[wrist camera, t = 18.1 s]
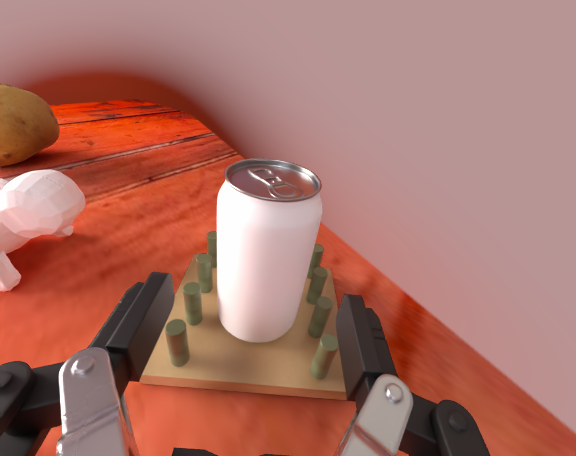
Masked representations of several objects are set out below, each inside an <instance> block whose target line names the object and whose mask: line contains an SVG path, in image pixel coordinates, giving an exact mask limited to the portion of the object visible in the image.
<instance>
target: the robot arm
mask: <svg viewBox="0 0 576 456" xmlns="http://www.w3.org/2000/svg"><path fill="white" fill-rule="evenodd" d="M174 299H175V295H174V288H173V281H172V275H171V274H169V273H160V272H152V273H151V274H150V276H149V277H148V279H147V280H146V282H145V283H141V282H138V283H136V284H135V285H134V286H132V287H131V288H130V289H128V290H127V291H126V293H125V294H124V296H123V297H122V299H121V300H120V303H118V305H117V306H116V308H115V309H114V312H112V313H111V315H110V316H109V318H108V319H107V321H106V322H105V324H104V325H103V327H102V328H101V329H100V331H99V332H98V334H97V335H96V337H95V338H94V340H93V341H92V343H91V344H90V345H89V346H88V347H87V349H84V350H81V351H79V352H77V353H76V354H74V355H73V356H71V357H70V358H69V359H68V360H67V361H65V362H62V363H58V364H53V365H48V366H43V367H38V368H33V369H31V368H30V366H29V365H28V364H27V363H25V362H21V361H14V362H9V363H5V364H3V365H0V456H35V455H36V453H37V451H38V450H39V448H40V446H41V445H42V443H43V441H44V439H45V438H46V436H47V434H48V432H49V431H50V429H51V428H53V427H56V426H60V425H62V437H61V438H60V439H59V440H58V443H57V456H140V455H139V451H138V448H137V445H136V442H135V438H134V434H133V429H132V425H131V421H130V416H129V412H128V408H127V403H126V399H125V394H124V391H125V389H126V386H127V384H128V382H129V381H136V382H139V380H140V378H141V376H142V374H143V372H144V369H145V367H146V365H147V363H148V361H149V359H150V356H151V354H152V352H153V350H154V348H155V346H156V343H157V341H158V339H159V337H160V335H161V333H162V330H163V328H164V326H165V324H166V322H167V320H168V317H169V315H170V313H171V311H172V308H173V305H174ZM336 332H337V339H338V345H339V352H340V358H341V365H342V371H343V378H344V384H345V391H346V397H347V400H348V401H355V402H356V407H357V411H356V412H355V414H354V416H353V418H352V420H351V422H350V424H349V426H348V428H347V430H346V432H345V434H344V436H343V438H342V440H341V442H340V444H339V446H338V448H337V450H336V452H335V454H334V455H333V456H396V454H397V451H398V450H400V451H403V452H405V453H407V454H409V456H490V453H489V451H488V449H487V447H486V444H485V442H484V440H483V438H482V435H481V433H480V431H479V429H478V426H477V424H476V422H475V420H474V419H473V417H472V416H471V414H470V413H469V412H468V411H467V410H466V409H465V408H464V407H463V406H461V405H460V404H458V403H456V402H454V401H451V400H442V401H441V402H439V403H438V404H436V403H433V402H431V401H429V400H426V399H424V398H422V397H420V396H417V395H415V394H414V393H412V392H411V391H410V390H409V388H408V387H407V386H406V384H405V383H404V382H403V381H402V380H400V379H399V377H398V376H397V373H396V370H395V367H394V364H393V361H392V357H391V354H390V351H389V348H388V345H387V342H386V340H385V336H384V332H383V331H382V326H381V323H380V320H379V318H378V316H377V315H376V314H375V312H374V311H373V310H372V308H365V305H364V301H363V298H362V296H360V295H351V294H345V295H344V296H343V299H342V301H341V304H340V307H339V309H338V312H337V315H336ZM172 456H218V455H215V454H213V453H211V452H208V451H206V450H200V449H186V448H174V450H173V453H172ZM260 456H287V455H273V454H264V455H260Z"/></svg>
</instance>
